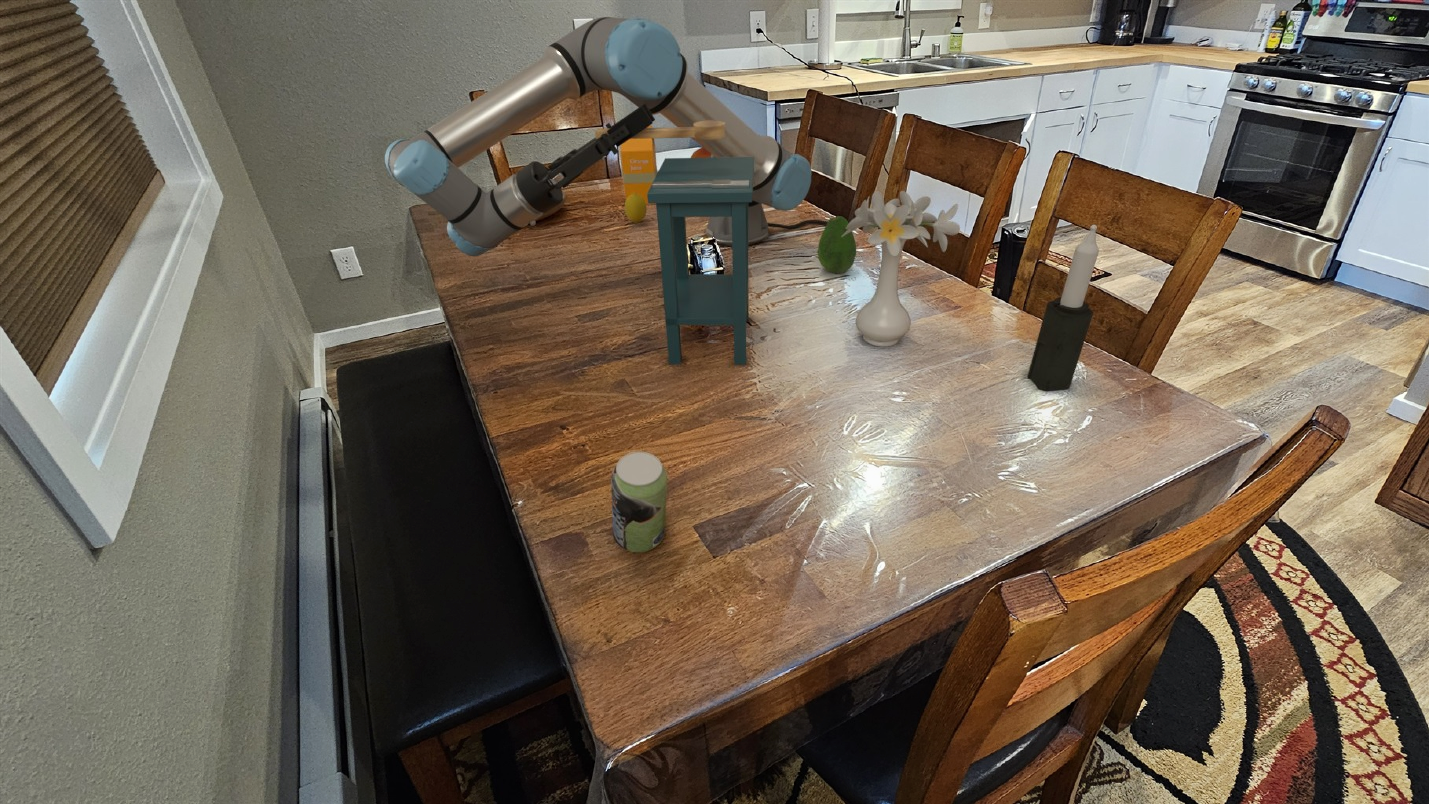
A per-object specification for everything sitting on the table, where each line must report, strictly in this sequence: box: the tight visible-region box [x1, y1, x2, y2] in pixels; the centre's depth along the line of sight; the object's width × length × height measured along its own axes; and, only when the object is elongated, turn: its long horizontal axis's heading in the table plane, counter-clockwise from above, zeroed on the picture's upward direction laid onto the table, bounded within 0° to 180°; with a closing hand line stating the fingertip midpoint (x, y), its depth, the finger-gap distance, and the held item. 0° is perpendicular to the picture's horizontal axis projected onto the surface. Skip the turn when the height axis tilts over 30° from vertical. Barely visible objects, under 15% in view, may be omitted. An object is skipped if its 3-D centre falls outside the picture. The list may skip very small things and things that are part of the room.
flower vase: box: [841, 190, 961, 348], centre depth 109 cm, size 13×18×25 cm
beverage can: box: [610, 451, 668, 553], centre depth 74 cm, size 6×7×12 cm
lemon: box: [624, 193, 647, 225], centre depth 169 cm, size 6×6×8 cm
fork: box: [653, 180, 749, 189], centre depth 96 cm, size 14×2×1 cm, turn 86°
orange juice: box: [619, 125, 658, 205], centre depth 183 cm, size 8×9×20 cm
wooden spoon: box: [594, 120, 725, 140], centre depth 100 cm, size 20×5×2 cm, turn 86°
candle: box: [1027, 224, 1100, 392], centre depth 96 cm, size 5×5×25 cm
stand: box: [647, 157, 754, 366], centre depth 110 cm, size 15×20×29 cm
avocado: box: [817, 215, 857, 274], centre depth 138 cm, size 8×8×12 cm
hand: (648, 113), depth 99 cm, fingers closed on wooden spoon, 2 cm apart
